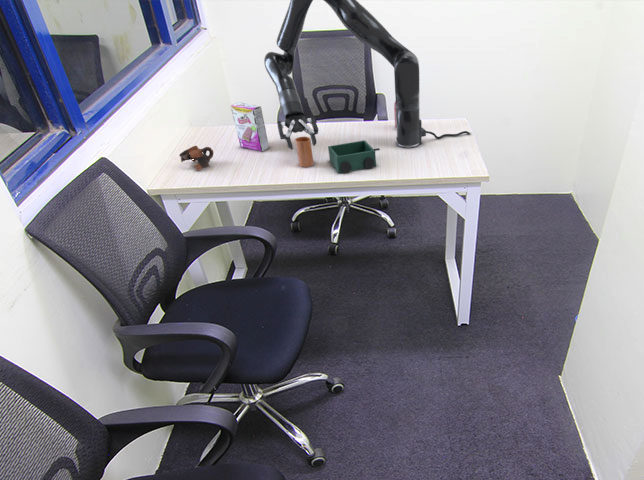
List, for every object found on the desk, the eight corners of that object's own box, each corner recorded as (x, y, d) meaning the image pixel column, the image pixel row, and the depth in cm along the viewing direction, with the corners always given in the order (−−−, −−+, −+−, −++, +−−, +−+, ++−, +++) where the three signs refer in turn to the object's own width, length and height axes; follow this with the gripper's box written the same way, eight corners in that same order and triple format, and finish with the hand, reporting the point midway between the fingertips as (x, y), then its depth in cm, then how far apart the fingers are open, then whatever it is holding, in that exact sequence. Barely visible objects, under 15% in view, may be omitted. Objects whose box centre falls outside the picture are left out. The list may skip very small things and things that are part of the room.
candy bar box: (239, 148, 205) (229, 105, 195) (247, 143, 209) (238, 101, 198) (262, 152, 202) (253, 109, 191) (270, 147, 205) (261, 105, 194)
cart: (366, 155, 198) (364, 140, 195) (376, 166, 190) (375, 150, 186) (329, 161, 194) (327, 146, 190) (338, 173, 186) (336, 157, 182)
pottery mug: (190, 175, 187) (176, 154, 184) (190, 177, 195) (177, 157, 192) (220, 159, 190) (206, 138, 187) (218, 162, 198) (205, 142, 195)
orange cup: (311, 160, 195) (308, 135, 189) (315, 165, 191) (311, 140, 185) (297, 163, 193) (293, 137, 187) (301, 168, 190) (297, 142, 183)
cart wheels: (374, 152, 200) (373, 141, 198) (386, 165, 191) (386, 154, 188) (331, 160, 195) (329, 149, 192) (341, 174, 185) (340, 162, 183)
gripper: (271, 102, 184) (284, 144, 183) (310, 97, 188) (322, 138, 187) (271, 113, 191) (283, 154, 190) (309, 108, 195) (321, 148, 195)
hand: (303, 146), depth 189 cm, fingers open, 8 cm apart
